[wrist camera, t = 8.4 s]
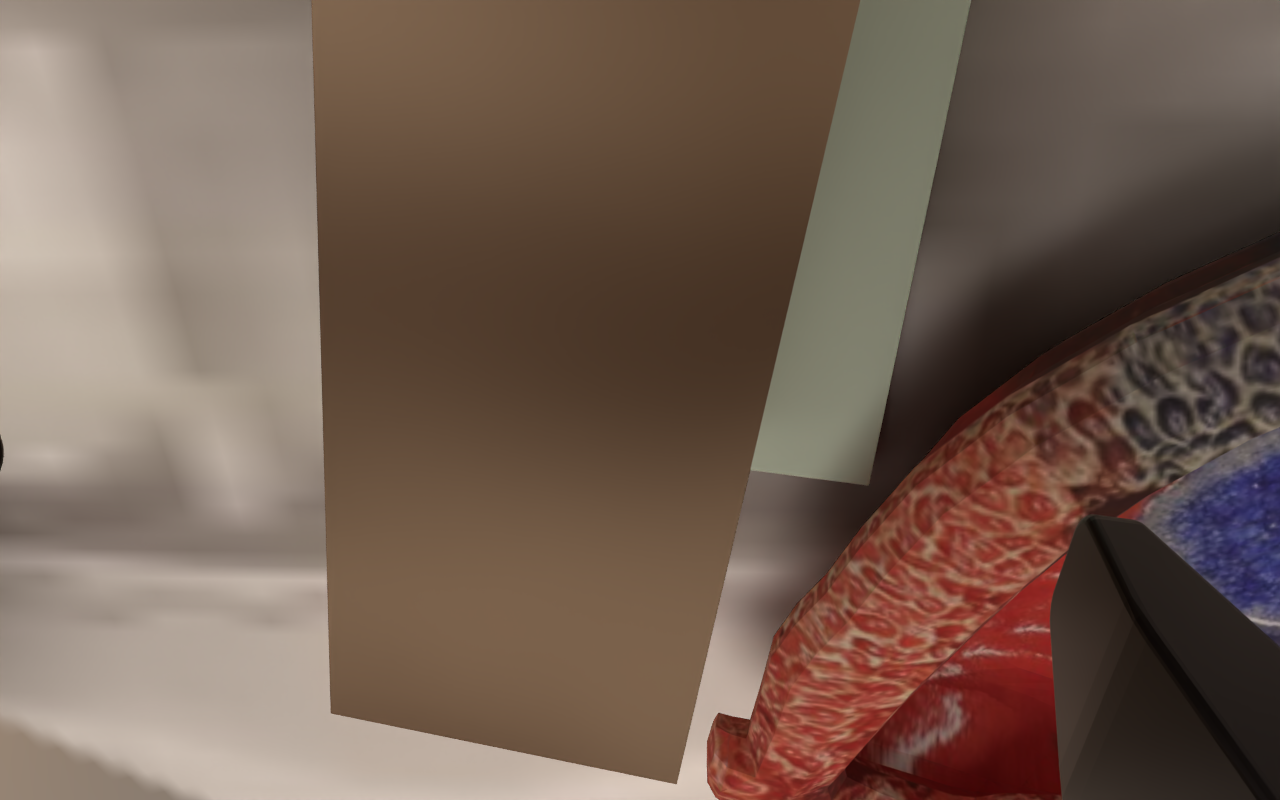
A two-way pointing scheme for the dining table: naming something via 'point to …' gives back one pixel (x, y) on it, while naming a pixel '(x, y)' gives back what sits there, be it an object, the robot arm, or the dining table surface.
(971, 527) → the dish
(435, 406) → the brown rectangular block
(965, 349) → the dining table surface
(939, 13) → the strip
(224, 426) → the dining table surface
